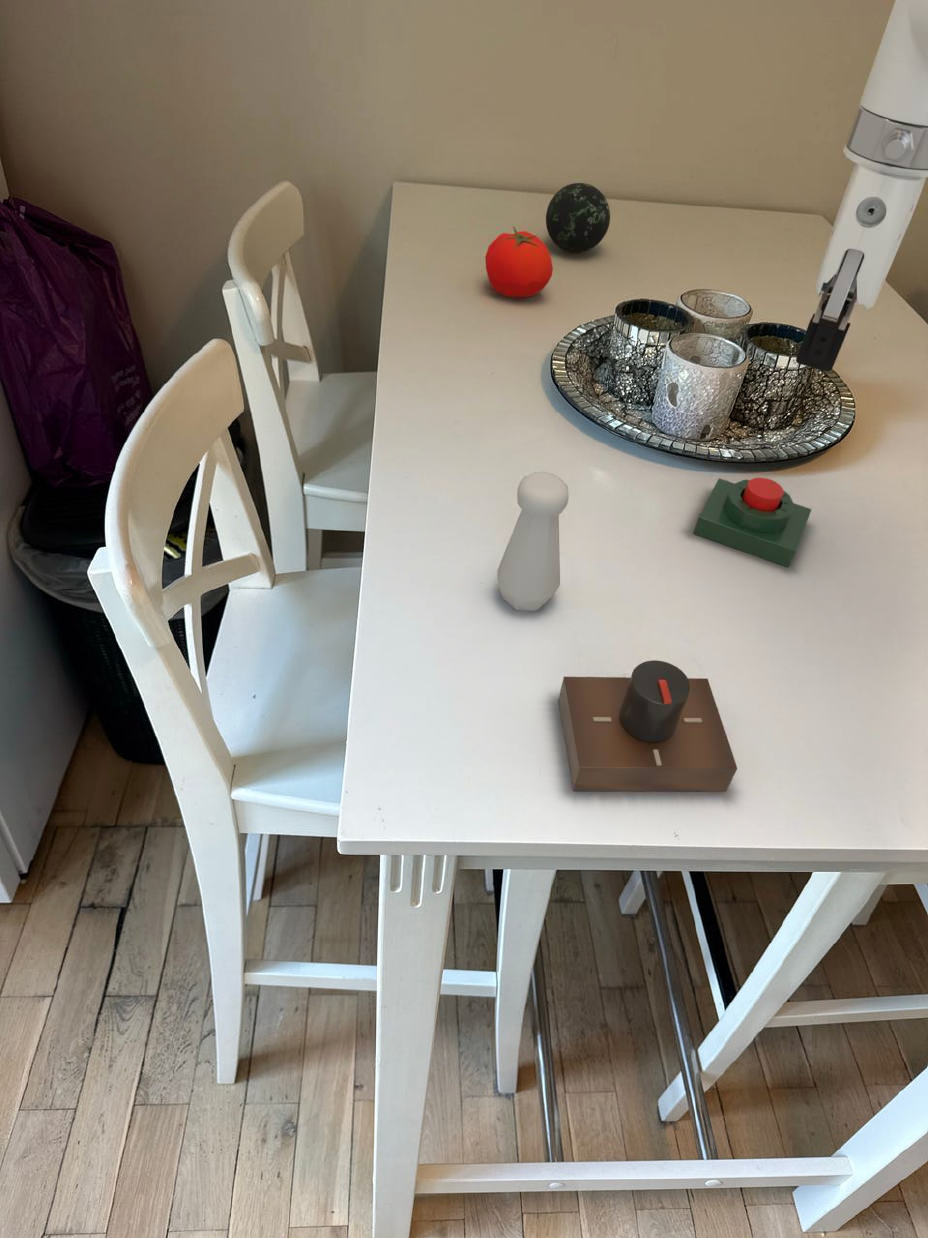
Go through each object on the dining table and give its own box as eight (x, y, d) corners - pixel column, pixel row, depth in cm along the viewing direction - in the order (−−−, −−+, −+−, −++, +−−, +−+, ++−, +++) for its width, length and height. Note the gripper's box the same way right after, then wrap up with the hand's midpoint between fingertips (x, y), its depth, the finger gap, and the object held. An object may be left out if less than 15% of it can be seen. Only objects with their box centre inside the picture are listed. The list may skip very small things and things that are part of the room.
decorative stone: (603, 242, 145) (615, 177, 138) (603, 266, 138) (616, 199, 131) (542, 234, 145) (551, 170, 138) (540, 258, 138) (549, 191, 131)
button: (781, 498, 90) (787, 484, 89) (773, 517, 88) (779, 502, 87) (747, 487, 91) (752, 473, 90) (738, 505, 89) (743, 490, 88)
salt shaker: (557, 620, 80) (582, 506, 71) (494, 616, 80) (511, 500, 71) (553, 578, 84) (576, 464, 75) (494, 573, 84) (510, 459, 75)
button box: (804, 525, 93) (818, 494, 90) (788, 567, 88) (802, 536, 85) (713, 494, 96) (723, 463, 93) (692, 533, 91) (703, 502, 88)
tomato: (503, 272, 133) (509, 215, 127) (561, 293, 130) (570, 235, 124) (468, 291, 127) (473, 232, 122) (528, 314, 124) (537, 254, 118)
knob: (614, 698, 70) (627, 656, 66) (668, 698, 70) (684, 657, 67) (624, 742, 67) (638, 701, 63) (681, 743, 67) (698, 702, 64)
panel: (698, 701, 74) (708, 676, 72) (726, 791, 68) (738, 767, 66) (557, 700, 73) (563, 674, 71) (573, 791, 67) (580, 766, 65)
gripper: (943, 177, 60) (842, 413, 73) (961, 127, 70) (869, 343, 83) (833, 153, 62) (753, 387, 75) (865, 108, 72) (789, 321, 85)
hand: (814, 363), depth 79 cm, fingers closed
